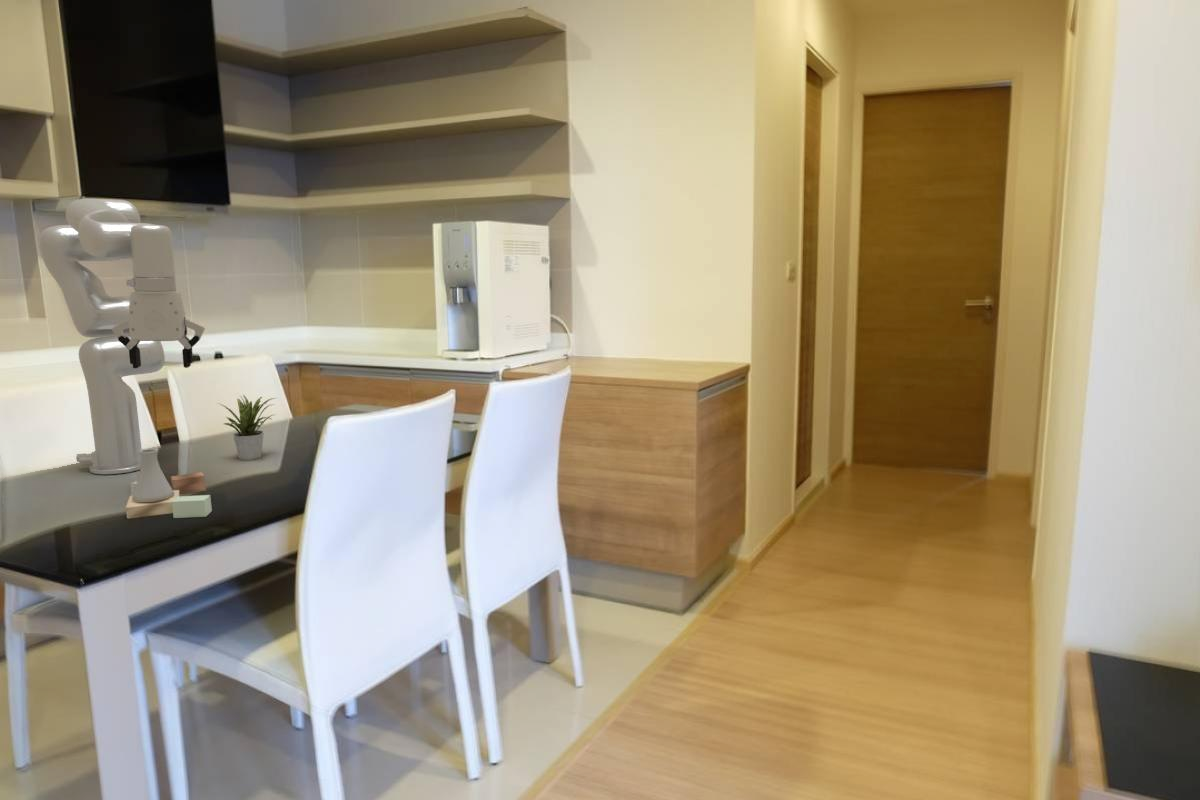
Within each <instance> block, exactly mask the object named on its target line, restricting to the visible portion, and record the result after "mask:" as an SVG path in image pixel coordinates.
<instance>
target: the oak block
mask: <svg viewBox="0 0 1200 800" xmlns="http://www.w3.org/2000/svg"><path fill="white" fill-rule="evenodd" d="M173 492H174V493H175V494H174V495H173V496H171V497H170V498H168V499H164V500H160V501H156V502H136V501H134V500H132V497H133V495H132V494H131V495H129V497H128V500H127V503H126V506H125V512H126V513H125V514H126V519H127V520H128V519H136V518H145V517H152V516H162V515H169V514H173V508H172V501H173V500H175V499H176V498H177V497H178V496H180V495H181V494H180V493H179V490H173Z"/></svg>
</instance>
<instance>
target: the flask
mask: <svg viewBox="0 0 1200 800" xmlns="http://www.w3.org/2000/svg"><path fill="white" fill-rule="evenodd" d="M158 452H159V449H157V448H145V449H142V450H141V451H139V454H140V455H141V469H140V470H139V475H138V477H137V484H136V487H135V491H134V494H133V497H132V500H134V501H136V502H156V501H160V500H164V499H168V498H170V497H171V496H173V495H174V494H175V493H174V492H173V490H172V485H170V483H169V482H168V480H167V478H166V476H165V474H164V472H163V471H162V468H161V465H160V463H159V460H158V455H157V454H158Z"/></svg>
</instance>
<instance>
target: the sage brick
mask: <svg viewBox="0 0 1200 800" xmlns="http://www.w3.org/2000/svg"><path fill="white" fill-rule="evenodd" d="M211 498H212V497H211V494H203V495H202V494H201V495H199V494H198V495H184V496H183V495H181V496H178V497H177V498H176V499H175V500H173V501H172V508H173V513H172V516H173V519H181V518H182V519H185V518H204V517H205V518H207V516H208V515H210V513H211V512H212V511H213V509H212V501H211Z"/></svg>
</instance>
